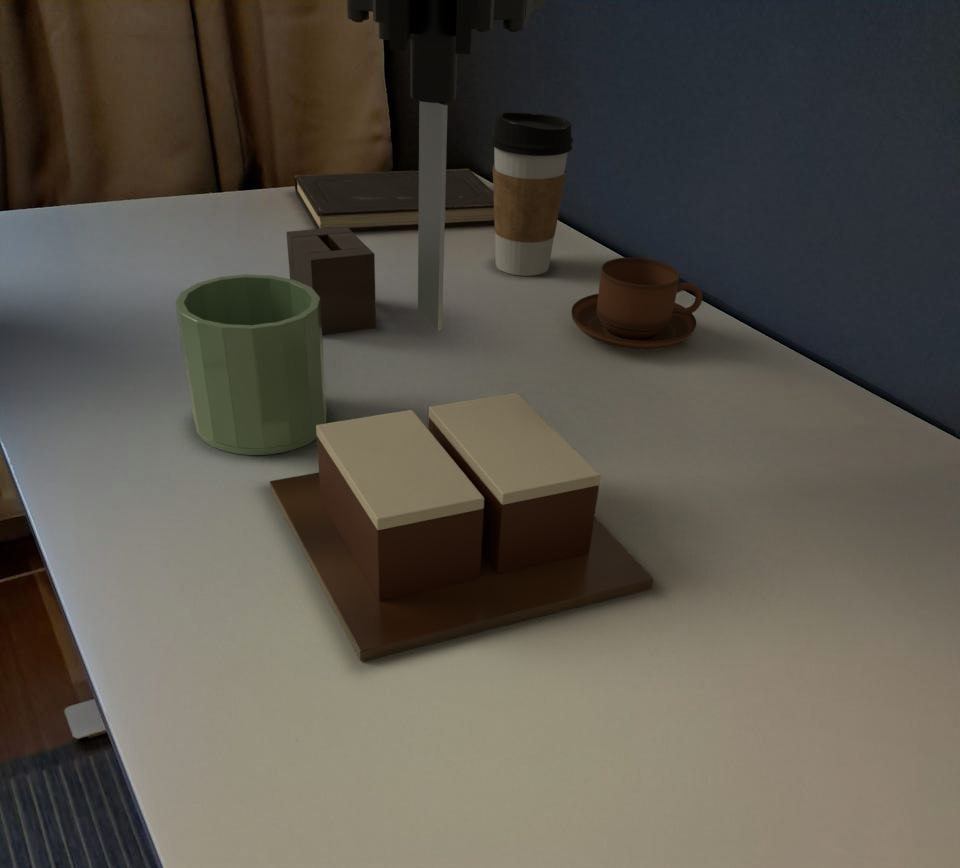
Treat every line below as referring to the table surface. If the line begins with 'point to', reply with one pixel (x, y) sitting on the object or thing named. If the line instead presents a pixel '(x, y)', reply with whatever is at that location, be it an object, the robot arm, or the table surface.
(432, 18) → the knife
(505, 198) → the coffee cup
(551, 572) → the cake board
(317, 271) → the knife block
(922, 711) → the table surface
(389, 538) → the block
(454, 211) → the hardcover book
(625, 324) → the cup and saucer
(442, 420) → the cake slice
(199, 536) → the table surface
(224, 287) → the cup
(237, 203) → the table surface
